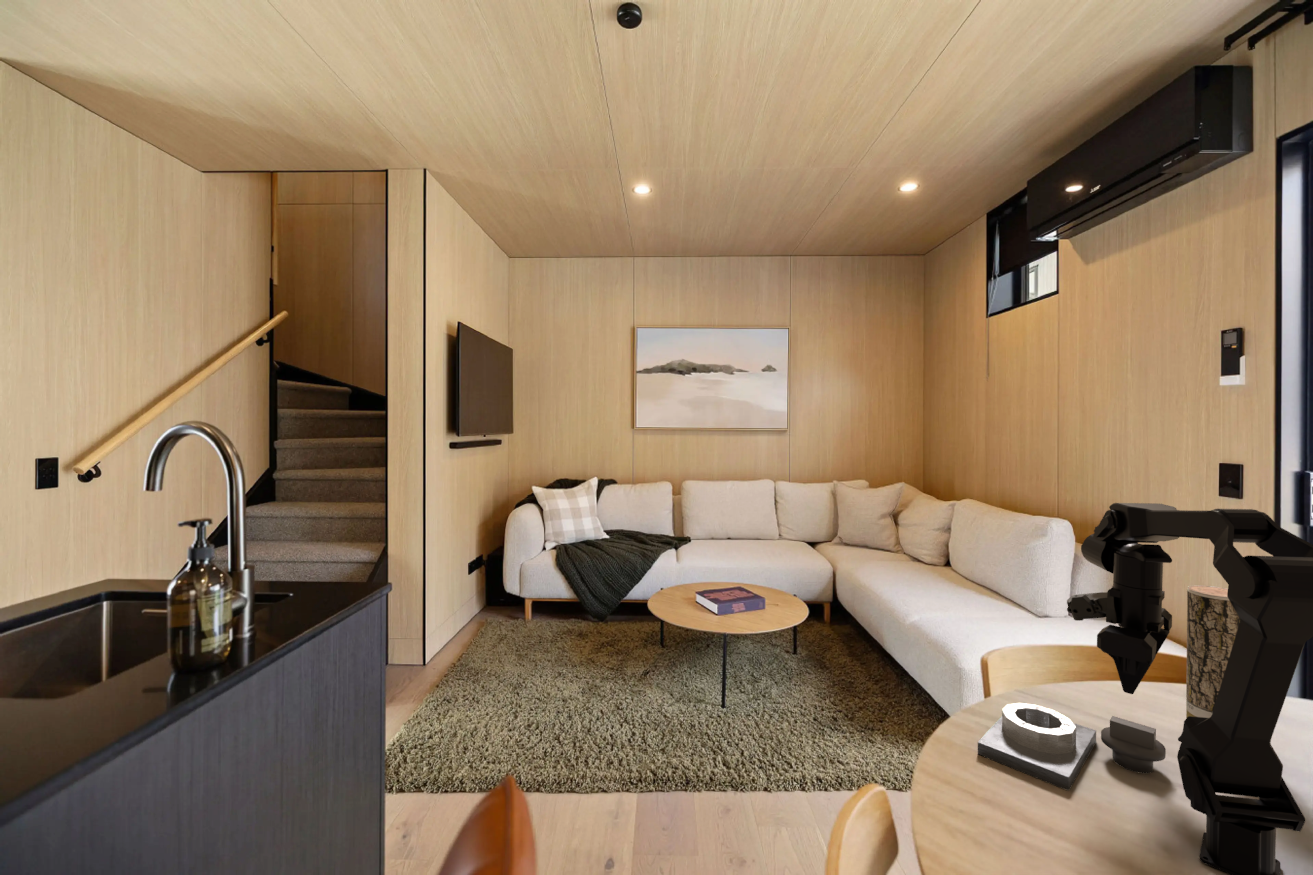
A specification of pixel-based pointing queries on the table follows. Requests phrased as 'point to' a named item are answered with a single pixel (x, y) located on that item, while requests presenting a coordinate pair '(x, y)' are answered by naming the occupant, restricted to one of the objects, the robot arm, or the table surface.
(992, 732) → the ring on base plate
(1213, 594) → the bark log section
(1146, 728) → the grip bar knob
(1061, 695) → the table surface
